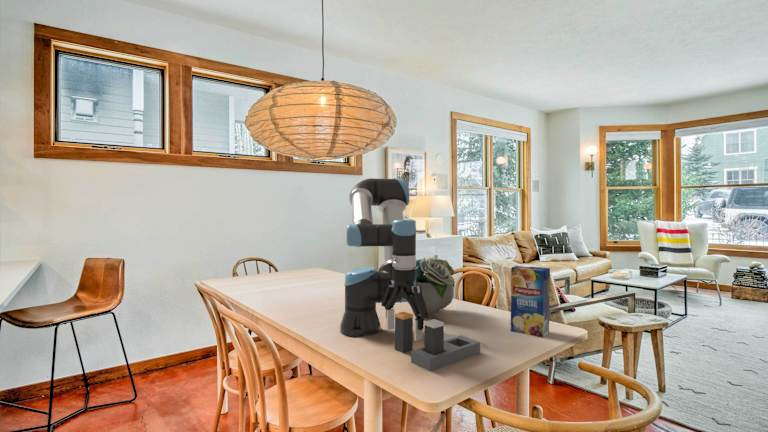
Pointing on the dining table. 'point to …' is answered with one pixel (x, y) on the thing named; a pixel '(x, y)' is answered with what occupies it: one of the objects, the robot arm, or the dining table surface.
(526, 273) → the juice carton
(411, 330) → the plug
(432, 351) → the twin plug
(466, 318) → the dining table surface
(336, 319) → the dining table surface
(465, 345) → the grey socket block
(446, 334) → the hard drive
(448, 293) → the flower arrangement
